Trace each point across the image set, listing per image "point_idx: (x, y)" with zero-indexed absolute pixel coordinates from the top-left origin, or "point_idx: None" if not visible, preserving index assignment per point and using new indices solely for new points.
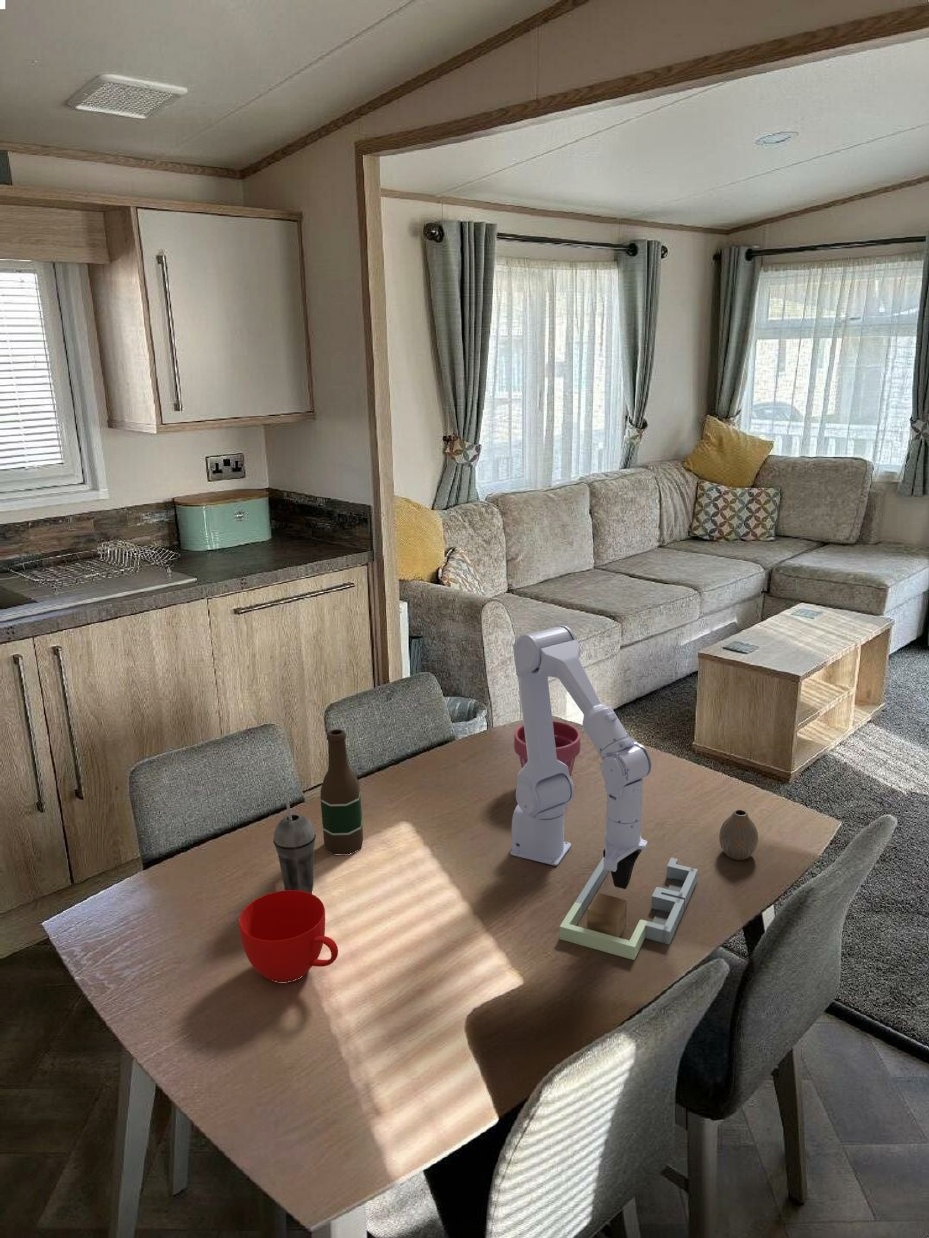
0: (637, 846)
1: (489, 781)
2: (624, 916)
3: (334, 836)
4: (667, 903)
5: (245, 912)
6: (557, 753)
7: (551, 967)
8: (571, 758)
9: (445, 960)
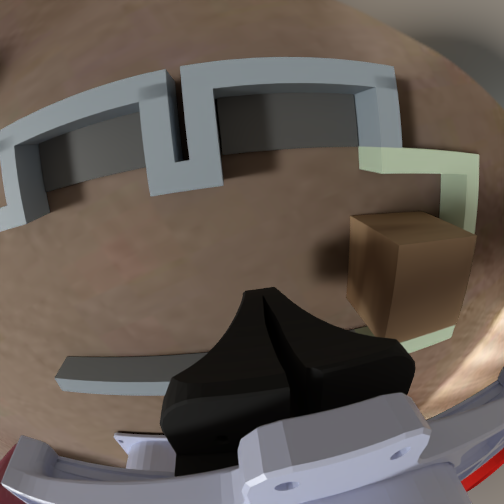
0: (420, 454)
1: None
2: (390, 226)
3: None
4: (216, 121)
5: (482, 479)
6: None
7: (489, 287)
8: (6, 491)
9: (473, 389)
